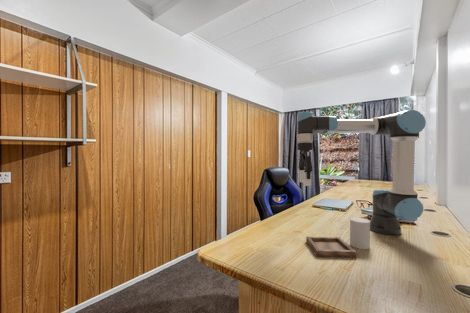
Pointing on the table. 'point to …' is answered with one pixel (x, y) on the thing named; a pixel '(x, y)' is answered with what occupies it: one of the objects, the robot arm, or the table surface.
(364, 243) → the pale grey cylinder
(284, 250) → the table surface
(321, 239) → the tray
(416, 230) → the table surface
